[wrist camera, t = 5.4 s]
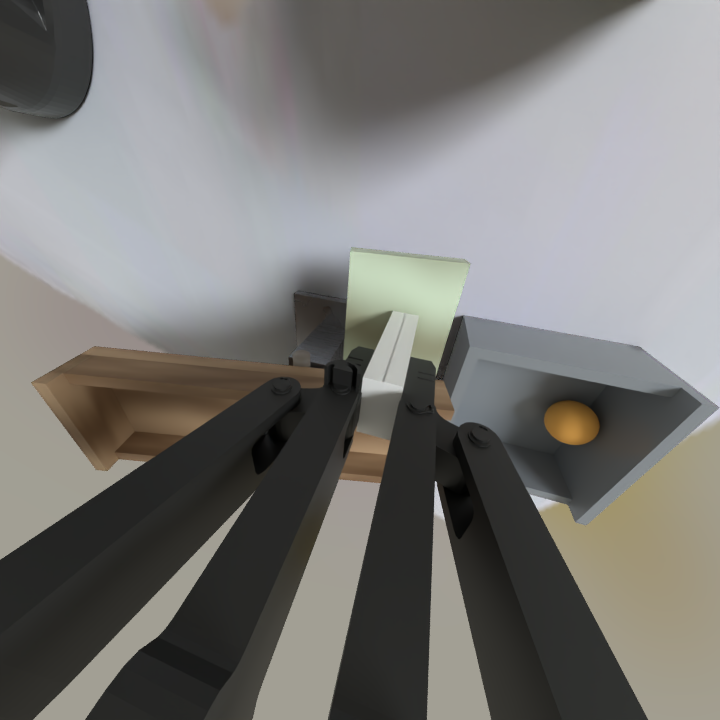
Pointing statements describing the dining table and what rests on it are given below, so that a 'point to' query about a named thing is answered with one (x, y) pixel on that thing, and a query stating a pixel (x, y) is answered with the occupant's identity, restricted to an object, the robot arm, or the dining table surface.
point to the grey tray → (576, 383)
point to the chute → (249, 369)
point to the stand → (320, 327)
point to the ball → (571, 422)
